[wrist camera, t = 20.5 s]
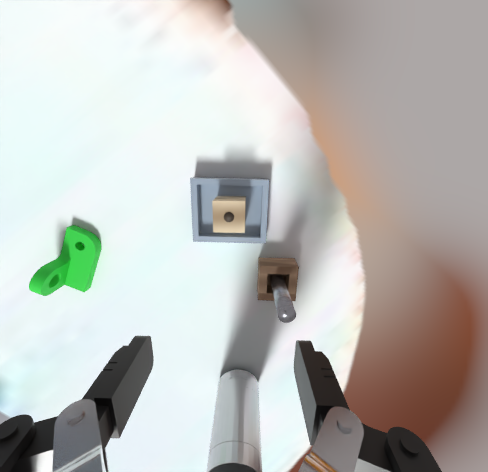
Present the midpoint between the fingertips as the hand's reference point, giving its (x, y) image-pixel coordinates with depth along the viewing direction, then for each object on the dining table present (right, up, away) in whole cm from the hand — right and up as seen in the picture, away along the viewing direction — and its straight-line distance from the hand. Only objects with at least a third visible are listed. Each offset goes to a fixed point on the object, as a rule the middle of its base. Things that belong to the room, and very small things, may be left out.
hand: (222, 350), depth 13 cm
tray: (-1, +11, +30) cm, 32 cm away
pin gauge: (+7, -2, +33) cm, 34 cm away
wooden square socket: (+7, -1, +34) cm, 34 cm away
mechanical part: (-31, +2, +34) cm, 46 cm away
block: (-1, +11, +29) cm, 31 cm away
